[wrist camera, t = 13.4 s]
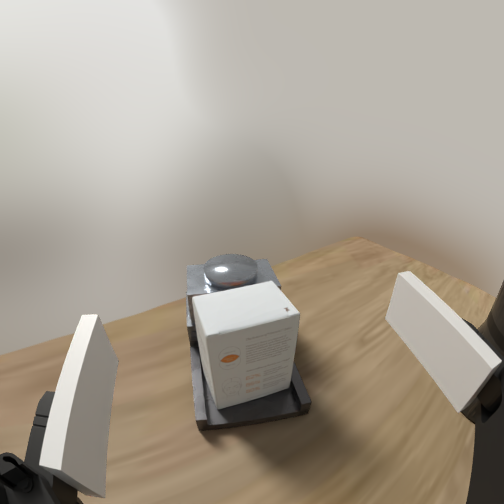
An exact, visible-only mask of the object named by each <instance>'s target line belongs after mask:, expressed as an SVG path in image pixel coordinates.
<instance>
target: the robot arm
mask: <svg viewBox="0 0 504 504" xmlns="http://www.w3.org/2000/svg"><path fill="white" fill-rule="evenodd" d="M385 319H386V320H387V322H388V323H389V324H390V325H391V326H392V328H393V329H394V330H395V331H396V333H397V334H398V335H399V336H400V337H401V339H402V340H403V341H404V342H405V344H406V345H407V346H408V347H409V349H410V350H411V351H412V352H413V354H414V355H415V356H416V358H417V359H418V360H419V361H420V363H421V364H422V365H423V366H424V368H425V369H426V370H427V372H428V373H429V374H430V376H431V377H432V378H433V380H434V381H435V382H436V384H437V385H438V386H439V388H440V389H441V390H442V392H443V393H444V394H445V396H446V397H447V398H448V400H449V401H450V403H451V404H452V405H453V407H454V408H455V410H456V411H457V412H458V413H459V412H461V411H462V413H463V414H464V415H465V416H466V417H468V418H469V419H470V420H471V421H473V422H474V423H475V443H474V455H473V465H472V472H471V479H470V486H469V491H468V497H467V502H466V504H504V281H503V283H502V286H501V288H500V291H499V293H498V295H497V298H496V300H495V302H494V304H493V306H492V309H491V311H490V313H489V315H488V317H487V319H486V321H485V322H484V323H483V324H482V325H481V326H480V327H479V328H478V329H476V328H475V327H474V326H473V325H472V324H471V323H469V322H468V321H466V320H464V319H463V318H462V319H461V318H460V317H459V316H458V315H457V314H456V313H455V312H454V311H453V310H452V309H451V308H450V307H449V306H448V305H447V304H446V303H445V302H444V301H443V300H441V299H440V298H439V297H438V296H437V295H436V294H435V293H434V292H433V291H432V290H431V289H429V288H428V287H427V286H426V285H425V284H424V283H423V282H422V281H420V280H419V279H418V278H417V277H416V276H415V275H414V274H413V273H411V272H410V271H407V272H402V273H398V275H397V279H396V283H395V287H394V290H393V294H392V297H391V301H390V304H389V308H388V311H387V314H386V317H385ZM118 362H119V361H118V358H117V356H116V354H115V352H114V350H113V348H112V346H111V343H110V341H109V339H108V337H107V334H106V332H105V330H104V327H103V325H102V323H101V321H100V318H99V315H98V314H94V315H82V317H81V319H80V322H79V324H78V327H77V329H76V332H75V334H74V337H73V340H72V342H71V345H70V348H69V351H68V354H67V357H66V359H65V362H64V365H63V369H62V372H61V375H60V378H59V381H58V385H57V388H56V391H55V392H49V391H46V392H45V394H44V395H43V397H42V398H41V399H40V401H39V403H38V406H37V410H36V416H35V417H34V421H33V426H32V429H31V433H30V437H29V442H28V447H27V451H26V457H25V461H24V462H23V461H22V460H21V459H19V458H18V457H17V456H15V455H14V454H13V453H7V452H6V453H3V454H1V455H0V504H83V503H82V501H81V500H80V499H79V498H78V497H77V491H80V492H81V493H83V494H85V495H88V496H94V497H100V498H105V488H106V461H107V447H108V435H109V425H110V416H111V407H112V400H113V393H114V386H115V379H116V373H117V367H118Z"/></svg>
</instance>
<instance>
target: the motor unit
mask: <svg viewBox="0 0 504 504" xmlns="http://www.w3.org/2000/svg"><path fill="white" fill-rule="evenodd" d="M268 281H273V282H274V283H275V284H276V286H277V287H278V288H279V289H280V290H281V285H280V283H279V281H278V279H277V277H276V275H275V273H274V272H273V270H272V268H271V266H270V264H269V262H268V260H267V259H261V260H253V259H251V258H249V257H247V256H243V255H237V254H226V255H220V256H216V257H213V258H212V259H210V260H208V261H207V262H206V263H205V264H201V265H189V266H187V292H186V295H187V296H186V304H187V329H188V335H189V341H190V346H191V347H190V351H191V368H192V382H193V395H194V406H195V417H196V422H197V426H198V429H199V431H201V430H212V429H222V428H231V427H238V426H245V425H252V424H258V423H264V422H270V421H275V420H280V419H285V418H290V417H294V416H299V415H303V414H307V413H308V412H309V408H310V405H311V400H310V398H309V395H308V393H307V391H306V388H305V386H304V384H303V381H302V379H301V377H300V374H299V372H298V370H297V367H296V365H295V363H294V362H293V368H292V375H291V381H290V387H289V388H287V389H284V390H281V391H278V392H275V393H273V394H270V395H267V396H264V397H260V398H257V399H254V400H250V401H247V402H244V403H240V404H237V405H233V406H229V407H226V408H222V409H217V407H216V405H215V402H214V400H213V397H212V395H211V392H210V389H209V386H208V384H207V381H206V378H205V375H204V372H203V367H202V361H201V356H200V350H199V344H198V338H197V331H196V324H195V318H194V311H193V304H192V297H194V296H199V295H204V294H210V293H215V292H220V291H225V290H230V289H235V288H240V287H244V286H249V285H254V284H259V283H263V282H268Z"/></svg>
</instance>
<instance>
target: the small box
mask: <svg viewBox="0 0 504 504" xmlns="http://www.w3.org/2000/svg"><path fill="white" fill-rule="evenodd" d="M192 304H193V311H194V318H195V324H196V331H197V338H198V344H199V350H200V356H201V361H202V367H203V372H204V375H205V378H206V381H207V384H208V386H209V389H210V392H211V395H212V397H213V400H214V402H215V405H216V407H217V409H222V408H226V407H229V406H233V405H237V404H240V403H244V402H247V401H250V400H254V399H257V398H260V397H264V396H267V395H270V394H273V393H275V392H278V391H281V390H284V389H287V388H289V387H290V381H291V375H292V368H293V362H294V355H295V349H296V342H297V335H298V328H299V320H300V313H299V312H298V310H297V309H296V308H295V307H294V306H293V304H292V303H291V302H290V301H289V300H288V299H287V297H286V296H285V295H284V294H283V293H282V292H281V290H280V289H279V288H278V287H277V286H276V284H275V283H274V282H273V281H268V282H263V283H259V284H254V285H249V286H244V287H240V288H235V289H230V290H225V291H220V292H215V293H210V294H204V295H199V296H194V297H192Z"/></svg>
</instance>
